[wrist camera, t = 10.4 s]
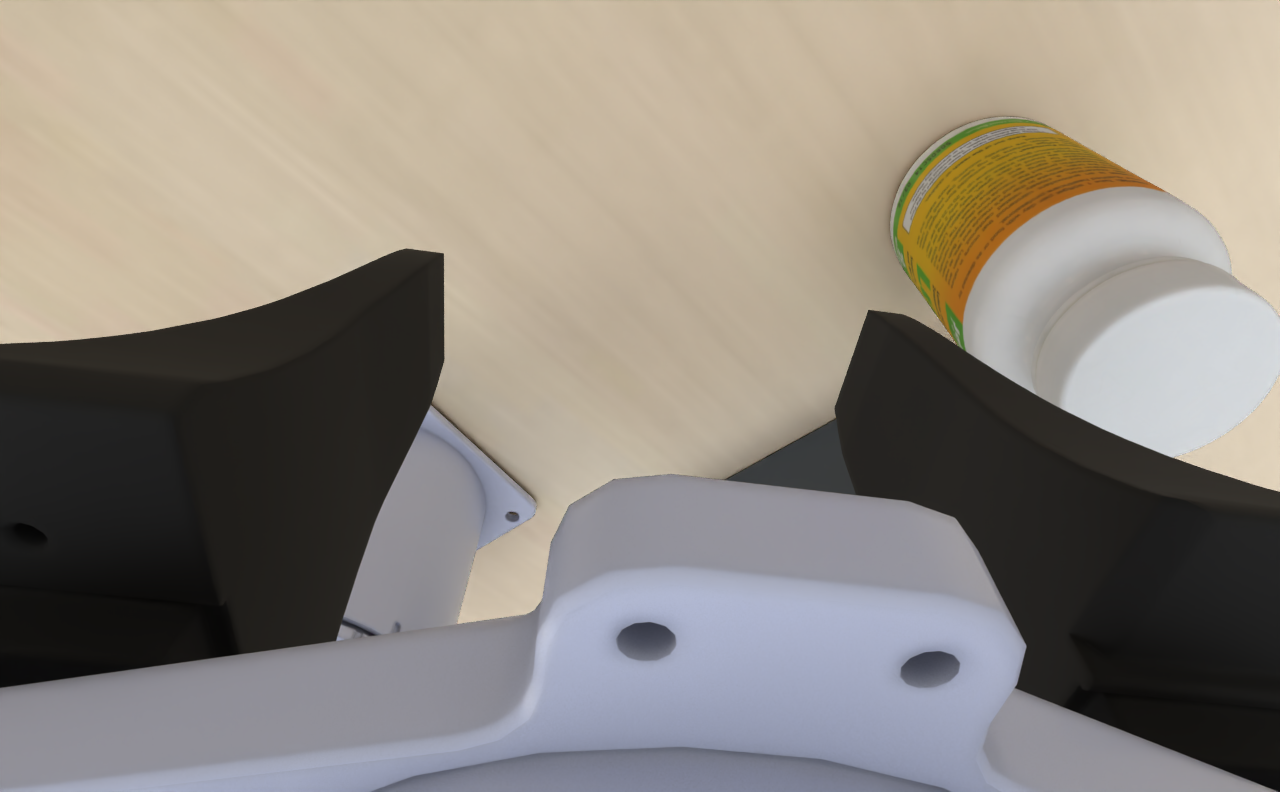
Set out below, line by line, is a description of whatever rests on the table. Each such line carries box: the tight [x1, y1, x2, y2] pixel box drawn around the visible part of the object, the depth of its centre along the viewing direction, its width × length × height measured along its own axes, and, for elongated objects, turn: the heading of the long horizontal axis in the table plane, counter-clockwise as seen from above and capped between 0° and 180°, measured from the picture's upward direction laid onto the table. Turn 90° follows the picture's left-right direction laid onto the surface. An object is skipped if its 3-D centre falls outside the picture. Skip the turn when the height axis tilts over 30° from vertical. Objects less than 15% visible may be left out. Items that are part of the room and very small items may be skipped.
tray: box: [726, 419, 856, 495], centre depth 28 cm, size 13×13×4 cm
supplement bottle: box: [890, 117, 1280, 458], centre depth 18 cm, size 5×5×10 cm
